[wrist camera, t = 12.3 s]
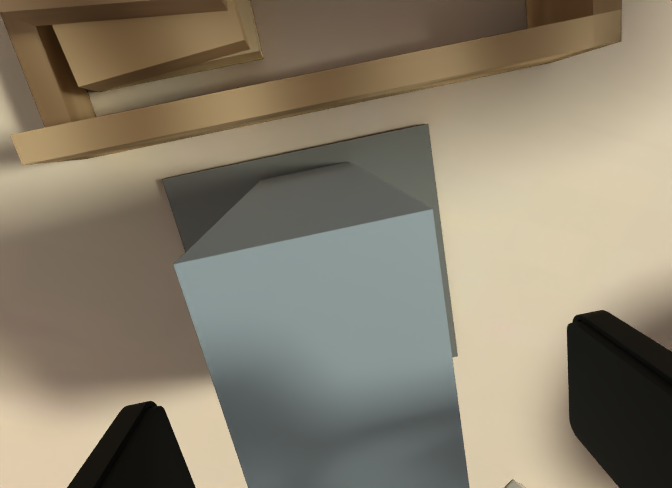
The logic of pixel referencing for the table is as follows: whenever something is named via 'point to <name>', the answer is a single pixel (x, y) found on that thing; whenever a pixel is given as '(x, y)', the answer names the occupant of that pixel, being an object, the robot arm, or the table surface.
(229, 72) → the table surface
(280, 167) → the mat
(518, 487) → the award
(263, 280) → the rectangular block
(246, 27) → the offcut stack
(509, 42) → the wooden frame
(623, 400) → the robot arm
